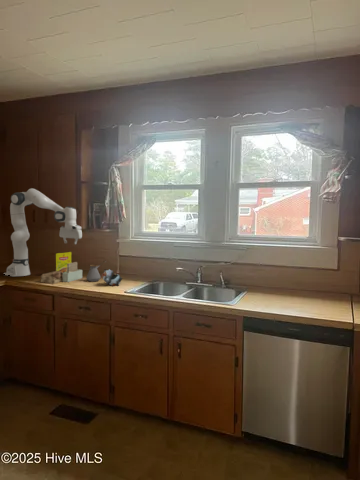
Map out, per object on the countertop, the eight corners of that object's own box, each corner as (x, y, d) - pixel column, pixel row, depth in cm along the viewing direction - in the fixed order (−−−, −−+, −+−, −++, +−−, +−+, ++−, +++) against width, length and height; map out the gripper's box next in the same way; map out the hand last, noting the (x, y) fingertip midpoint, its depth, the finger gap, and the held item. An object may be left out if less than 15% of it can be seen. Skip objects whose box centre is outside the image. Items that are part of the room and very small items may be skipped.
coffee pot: (94, 282, 277) (94, 264, 275) (83, 281, 282) (83, 262, 280) (111, 278, 295) (111, 260, 294) (100, 276, 301) (100, 259, 299)
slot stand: (62, 281, 279) (62, 272, 278) (77, 277, 296) (77, 269, 296) (67, 282, 277) (67, 273, 277) (82, 277, 294) (82, 269, 294)
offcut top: (53, 277, 275) (52, 273, 274) (55, 275, 285) (55, 271, 284) (59, 277, 275) (59, 273, 275) (61, 275, 285) (61, 271, 285)
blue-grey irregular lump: (117, 286, 264) (108, 271, 261) (105, 291, 268) (96, 276, 265) (125, 277, 278) (116, 262, 274) (112, 282, 282) (104, 267, 278)
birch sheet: (67, 280, 282) (67, 263, 281) (76, 278, 292) (75, 261, 291) (69, 281, 281) (68, 264, 280) (77, 278, 292) (77, 262, 290)
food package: (56, 276, 297) (56, 253, 295) (55, 276, 298) (55, 253, 296) (71, 274, 309) (71, 252, 307) (71, 274, 310) (70, 251, 308)
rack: (40, 282, 276) (40, 274, 275) (56, 277, 293) (56, 270, 292) (53, 283, 271) (53, 276, 270) (69, 279, 288) (69, 272, 288)
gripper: (57, 226, 283) (57, 243, 285) (78, 227, 276) (78, 244, 277) (62, 225, 289) (62, 242, 291) (83, 227, 282) (83, 244, 283)
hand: (70, 243), depth 284 cm, fingers open, 8 cm apart
